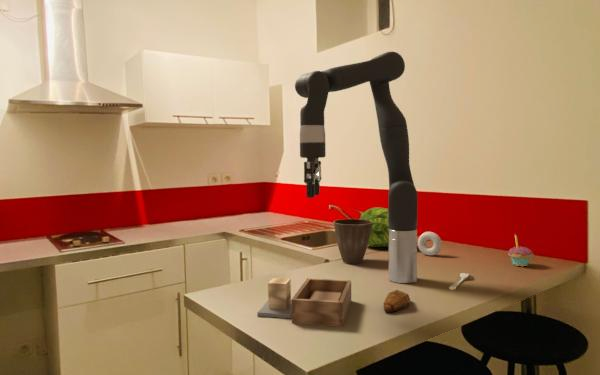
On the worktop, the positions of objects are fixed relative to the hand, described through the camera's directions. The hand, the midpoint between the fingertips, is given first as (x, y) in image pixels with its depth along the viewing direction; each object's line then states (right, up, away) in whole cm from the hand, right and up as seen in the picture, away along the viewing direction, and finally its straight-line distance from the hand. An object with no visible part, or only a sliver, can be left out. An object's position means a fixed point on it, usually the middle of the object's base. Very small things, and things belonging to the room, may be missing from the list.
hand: (313, 196), depth 136 cm
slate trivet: (-10, -31, -10) cm, 34 cm away
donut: (+50, -26, +54) cm, 78 cm away
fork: (+49, -29, +15) cm, 59 cm away
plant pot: (+17, -27, +45) cm, 55 cm away
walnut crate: (+2, -31, -11) cm, 33 cm away
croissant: (+23, -31, -9) cm, 39 cm away
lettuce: (+34, -25, +70) cm, 82 cm away
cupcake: (+78, -27, +35) cm, 90 cm away
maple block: (-10, -30, -10) cm, 33 cm away
